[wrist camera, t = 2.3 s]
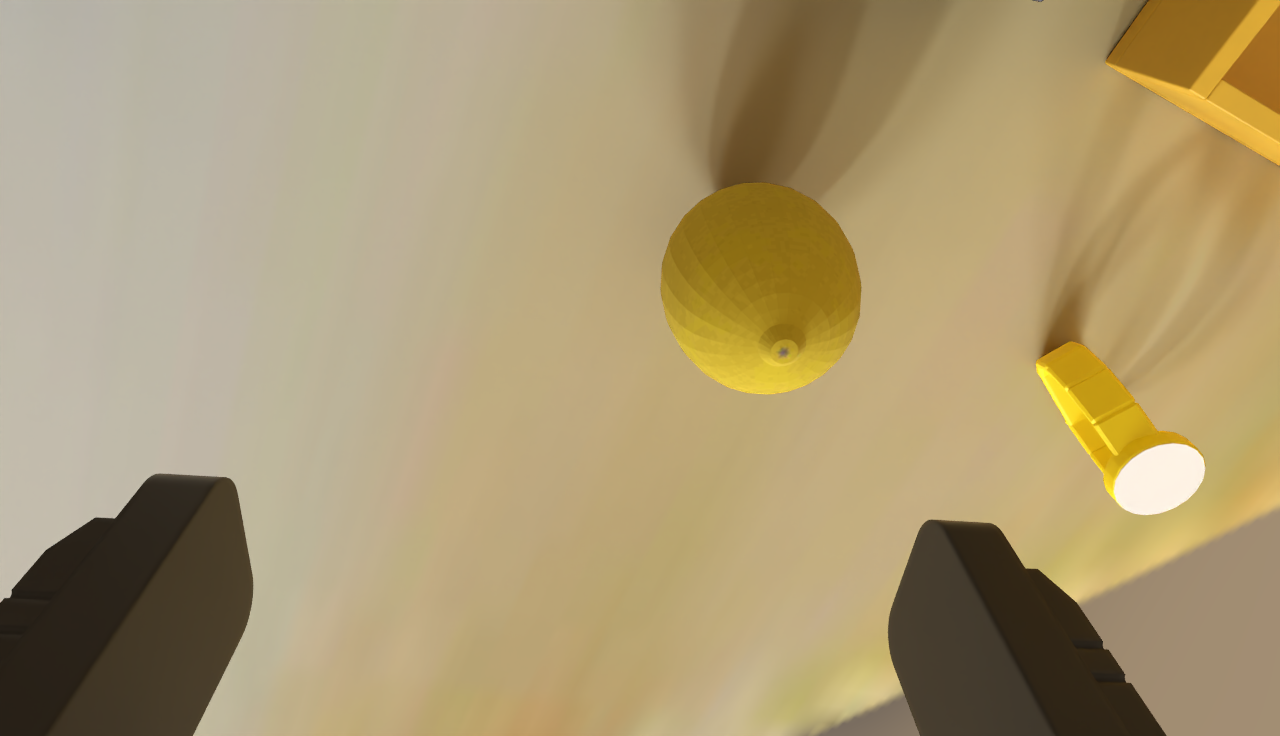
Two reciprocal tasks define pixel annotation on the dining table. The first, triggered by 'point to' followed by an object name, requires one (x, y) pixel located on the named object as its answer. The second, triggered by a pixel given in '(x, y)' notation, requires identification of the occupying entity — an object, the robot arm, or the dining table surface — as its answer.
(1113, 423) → the watch
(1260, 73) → the yellow bin
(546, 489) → the dining table surface
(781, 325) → the lemon
